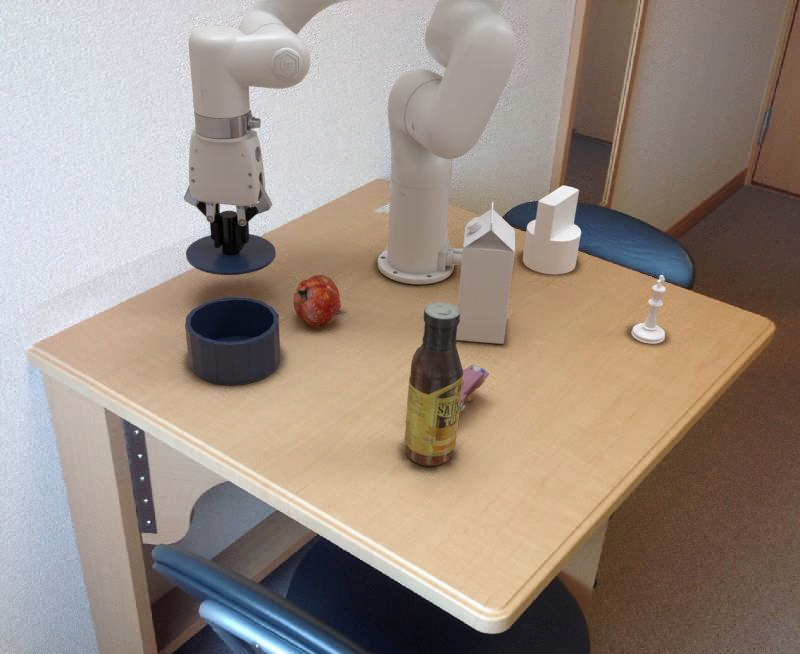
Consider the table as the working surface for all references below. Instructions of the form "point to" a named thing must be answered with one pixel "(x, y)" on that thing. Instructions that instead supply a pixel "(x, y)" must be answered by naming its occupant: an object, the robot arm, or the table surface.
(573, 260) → the cylinder with rectangular tab
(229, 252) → the lid
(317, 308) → the pomegranate
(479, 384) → the video game controller
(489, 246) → the milk carton
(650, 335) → the chess piece
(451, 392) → the sauce bottle
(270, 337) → the bowl
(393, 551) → the table surface
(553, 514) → the table surface
